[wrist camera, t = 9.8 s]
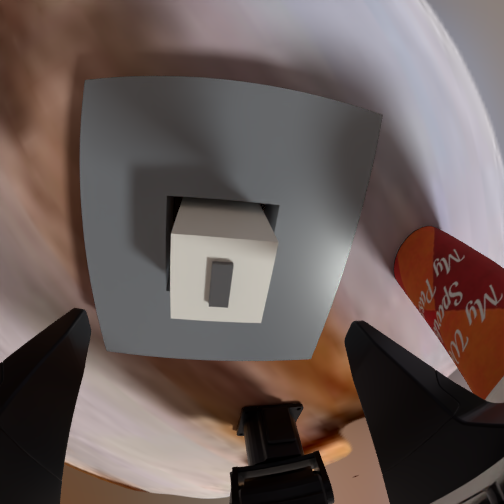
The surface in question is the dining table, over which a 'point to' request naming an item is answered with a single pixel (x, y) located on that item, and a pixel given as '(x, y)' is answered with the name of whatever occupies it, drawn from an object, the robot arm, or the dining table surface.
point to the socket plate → (225, 188)
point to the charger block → (220, 261)
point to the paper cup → (458, 304)
